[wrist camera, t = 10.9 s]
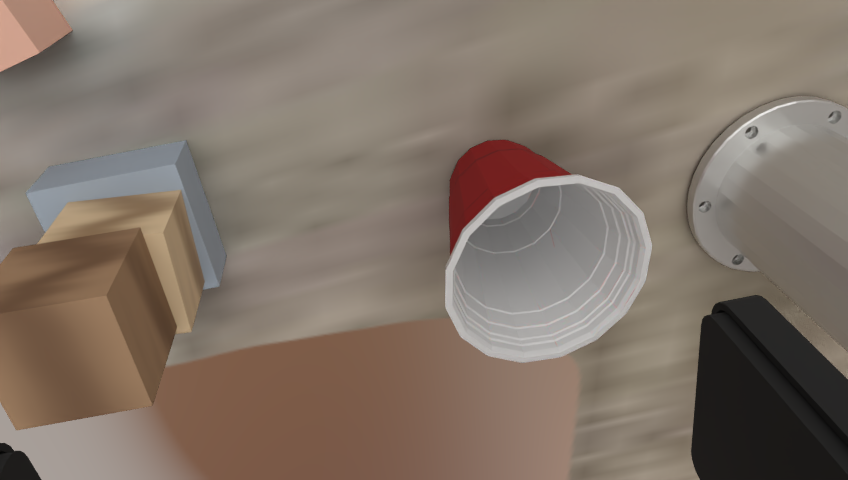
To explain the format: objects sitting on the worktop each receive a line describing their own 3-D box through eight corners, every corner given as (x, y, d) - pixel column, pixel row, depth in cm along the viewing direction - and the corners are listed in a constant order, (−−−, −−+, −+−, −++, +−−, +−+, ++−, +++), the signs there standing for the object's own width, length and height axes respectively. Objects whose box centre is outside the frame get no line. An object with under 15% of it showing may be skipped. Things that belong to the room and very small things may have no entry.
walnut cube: (140, 227, 33) (106, 295, 28) (177, 327, 36) (152, 406, 31) (13, 248, 33) (-46, 321, 27) (61, 347, 36) (16, 430, 30)
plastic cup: (553, 261, 47) (619, 374, 37) (400, 246, 45) (424, 361, 35) (600, 111, 43) (691, 193, 32) (431, 86, 40) (470, 165, 30)
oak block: (180, 189, 38) (163, 232, 33) (204, 281, 40) (191, 332, 36) (67, 202, 37) (34, 247, 33) (100, 294, 40) (73, 347, 36)
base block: (187, 138, 40) (174, 164, 37) (227, 253, 44) (219, 286, 41) (50, 164, 40) (25, 193, 36) (103, 278, 44) (85, 313, 40)
